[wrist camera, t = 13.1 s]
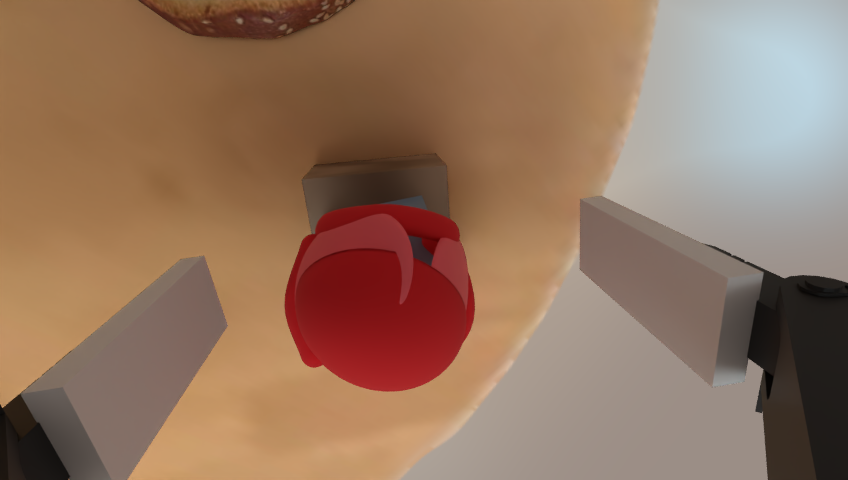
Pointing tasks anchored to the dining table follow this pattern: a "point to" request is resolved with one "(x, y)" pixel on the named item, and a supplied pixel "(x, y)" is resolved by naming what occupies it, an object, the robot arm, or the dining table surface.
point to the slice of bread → (244, 16)
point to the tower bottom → (376, 184)
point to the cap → (380, 296)
